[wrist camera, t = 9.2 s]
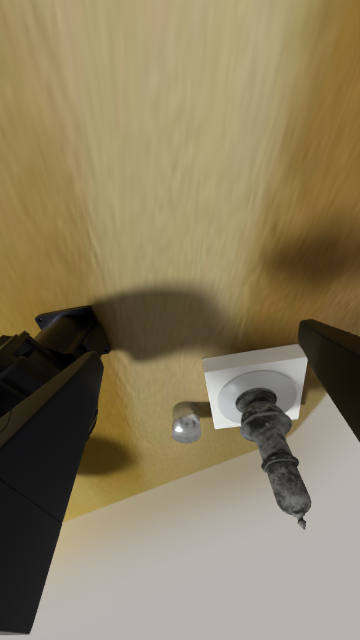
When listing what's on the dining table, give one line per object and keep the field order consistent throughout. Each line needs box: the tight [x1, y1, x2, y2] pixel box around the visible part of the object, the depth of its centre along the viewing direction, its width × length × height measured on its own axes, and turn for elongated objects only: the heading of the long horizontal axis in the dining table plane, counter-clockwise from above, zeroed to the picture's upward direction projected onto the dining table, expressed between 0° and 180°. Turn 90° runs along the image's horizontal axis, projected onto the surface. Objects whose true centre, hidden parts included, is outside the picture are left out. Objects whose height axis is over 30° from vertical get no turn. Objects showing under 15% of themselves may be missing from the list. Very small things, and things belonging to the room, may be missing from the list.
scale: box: [202, 344, 308, 429], centre depth 28 cm, size 12×13×3 cm
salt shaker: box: [235, 388, 311, 529], centre depth 22 cm, size 6×6×12 cm
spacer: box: [172, 402, 201, 443], centre depth 31 cm, size 4×4×4 cm
